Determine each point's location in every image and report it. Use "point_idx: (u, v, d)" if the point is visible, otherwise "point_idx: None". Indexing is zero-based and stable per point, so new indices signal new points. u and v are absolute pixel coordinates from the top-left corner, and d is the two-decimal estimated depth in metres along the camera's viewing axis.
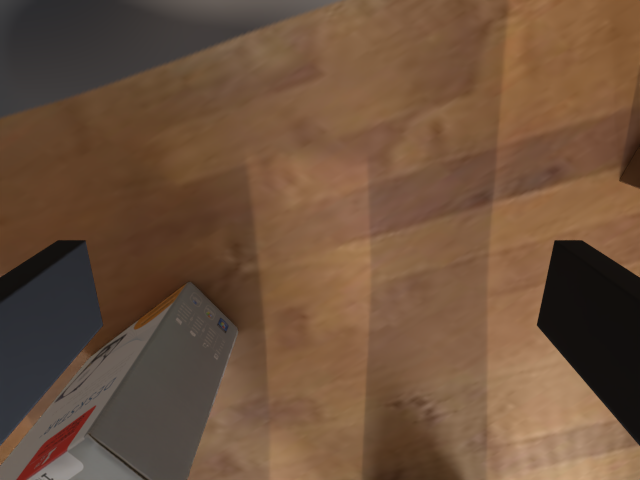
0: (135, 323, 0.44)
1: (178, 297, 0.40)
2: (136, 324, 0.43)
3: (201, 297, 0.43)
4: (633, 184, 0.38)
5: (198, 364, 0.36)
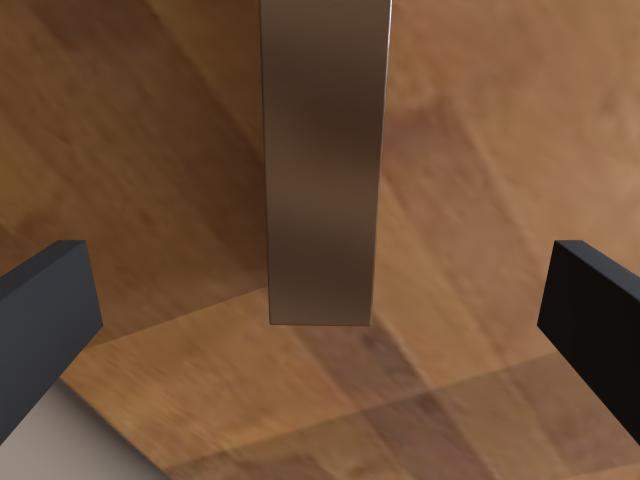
0: None
1: None
2: None
3: None
4: None
5: None
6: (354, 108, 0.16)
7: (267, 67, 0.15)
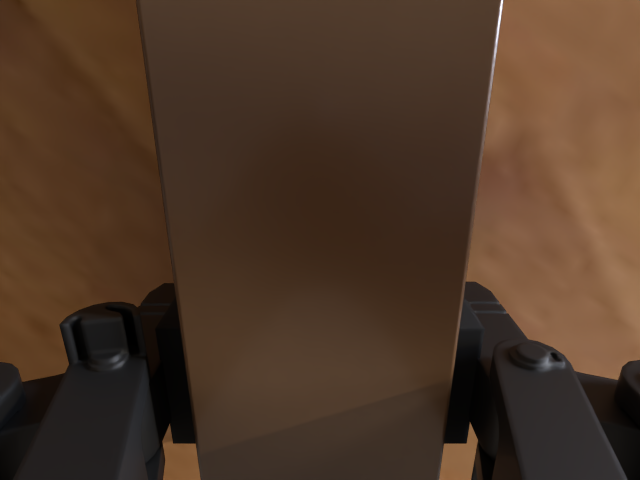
0: None
1: None
2: None
3: None
4: None
5: None
6: (398, 212, 0.06)
7: (166, 113, 0.06)
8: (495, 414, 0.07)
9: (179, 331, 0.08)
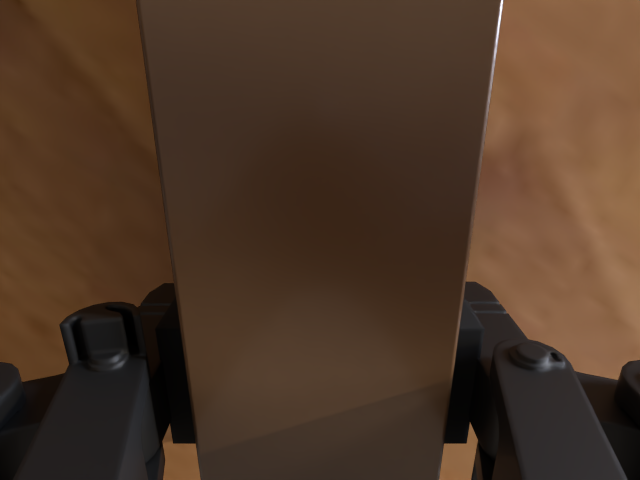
0: None
1: None
2: None
3: None
4: None
5: None
6: (398, 211, 0.06)
7: (166, 112, 0.06)
8: (495, 414, 0.07)
9: (179, 331, 0.08)
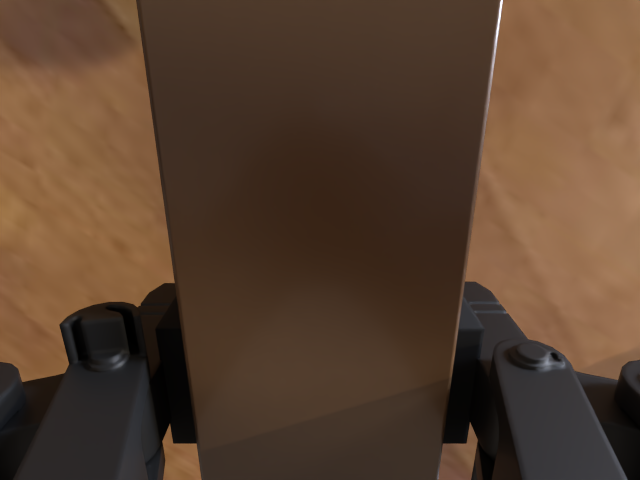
0: None
1: None
2: None
3: None
4: None
5: None
6: (398, 212, 0.06)
7: (166, 113, 0.06)
8: (495, 414, 0.07)
9: (179, 331, 0.08)
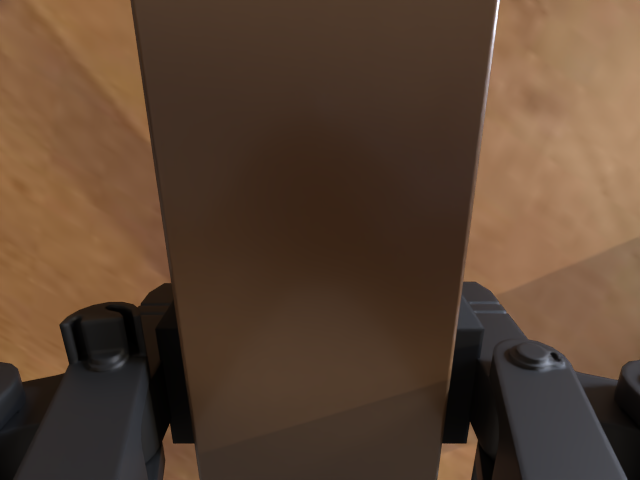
0: None
1: None
2: None
3: None
4: None
5: None
6: (395, 210, 0.06)
7: (162, 112, 0.06)
8: (495, 414, 0.07)
9: None
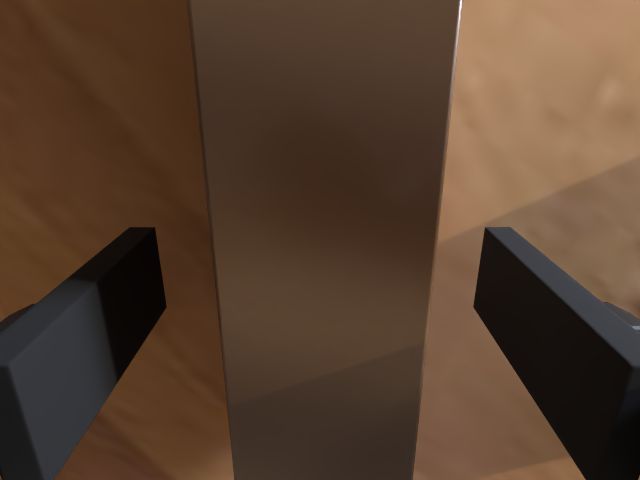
0: None
1: None
2: None
3: None
4: None
5: None
6: (384, 181, 0.08)
7: (209, 106, 0.08)
8: None
9: None
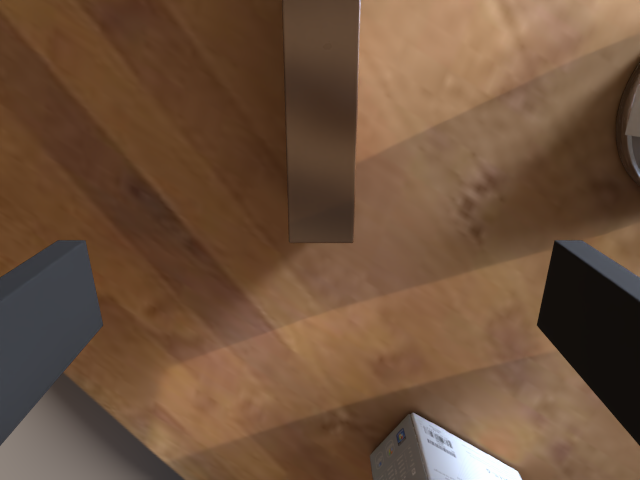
0: None
1: None
2: None
3: (380, 450, 0.45)
4: None
5: None
6: (339, 104, 0.27)
7: (288, 81, 0.26)
8: None
9: None
